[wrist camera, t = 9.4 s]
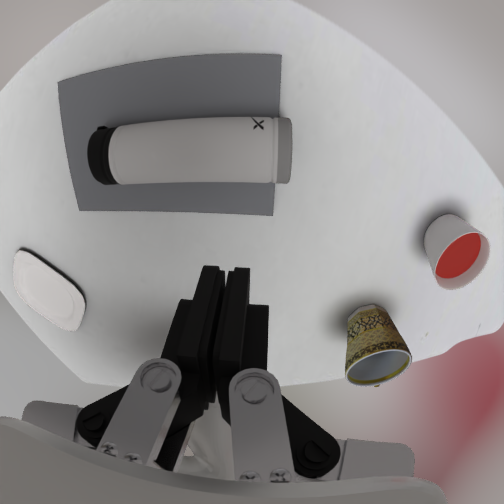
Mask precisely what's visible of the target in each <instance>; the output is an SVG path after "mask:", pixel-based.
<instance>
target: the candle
mask: <svg viewBox="0 0 504 504" xmlns="http://www.w3.org/2000/svg"><path fill="white" fill-rule="evenodd" d="M424 247H425V251H426V254H427V257H428V260H429V263H430V266H431V269H432V272H433V275H434V278H435V281H436V283H437V285H438V286H439V287H441V288H442V289H445V290H456V289H460V288H462V287H464V286H466V285H468V284H469V283H471V282H472V281H473V280H475V279H476V278H477V277H478V276H479V274H480V273H481V272H482V271H483V269H484V268H485V266H486V264H487V262H488V259H489V255H490V243H489V240H488V238H487V237H486V236H485V235H484V234H483V233H481V232H480V231H479V230H477V229H476V228H474V227H473V226H471V225H470V224H469V223H467V222H466V221H464V220H463V219H461V218H459V217H458V216H456V215H452V214H446V215H443V216H440V217H439V218H437V219H436V220H434V221H433V222H432V223H431V225H430V226H429V227H428V229H427V231H426V233H425V236H424Z"/></svg>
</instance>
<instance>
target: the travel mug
mask: <svg viewBox="0 0 504 504" xmlns="http://www.w3.org/2000/svg"><path fill="white" fill-rule="evenodd" d="M87 159H88V165H89V168H90V171H91V173H92V175H93V177H94V178H95V180H97V181H98V182H101V183H102V184H103V185H116V184H121V185H125V184H145V183H175V182H252V183H269V182H273V183H283V184H287V183H288V182H289V180H290V175H291V164H292V123H291V120H290V119H289V118H276V117H275V118H274V119H271V118H270V117H212V118H191V119H177V120H165V121H155V122H146V123H137V124H130V125H123V126H119V127H113V128H108V127H106V126H99V127H97V131H95V132H94V133H93V134H92V135H91V137H90V139H89V142H88V147H87Z"/></svg>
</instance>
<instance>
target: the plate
mask: <svg viewBox="0 0 504 504" xmlns="http://www.w3.org/2000/svg"><path fill="white" fill-rule="evenodd" d="M13 279H14V286H15V289H16V291H17V293H18V295H19V296H20V297H21V298H22V300H23V301H24V302H25V303H26V304H27V305H29V306H30V307H31V308H32V309H33V310H35V311H36V312H37V313H39V314H40V315H42V316H43V317H44V318H46V319H47V320H49V321H50V322H52V323H53V324H55V325H57V326H58V327H60V328H62V329H64V330H67V331H75V330H77V329H78V327H79V326H80V324H81V321H82V319H83V315H84V312H85V305H86V303H85V300H84V297H83V294H82V293H81V292H80V291H79V290H78V289H77V287H76V286H75V285H74V284H73V283H72V282H70V281H69V280H68V279H67V278H65V277H64V276H63V275H61V274H60V273H59V272H57V271H56V270H55V269H53V268H52V267H50V266H49V265H48V264H46V263H45V262H43V261H42V260H41V259H39V258H38V257H36V256H35V255H33V254H31V253H30V252H27V251H23V250H19V251H18V252H17V253H16V254H15V258H14V266H13Z"/></svg>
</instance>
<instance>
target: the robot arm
mask: <svg viewBox="0 0 504 504" xmlns="http://www.w3.org/2000/svg"><path fill="white" fill-rule="evenodd" d="M249 291H250V268H239V267H235V269H234V271H229V272H228V277H227V282H226V287H225V271H223V270H220V268H219V266H206V265H204V266H203V269H202V272H201V275H200V278H199V281H198V284H197V288H196V291H195V294H194V297H193V300H186V299H181V300H180V302H179V304H178V307H177V310H176V313H175V316H174V318H173V321H172V324H171V327H170V330H169V333H168V336H167V339H166V342H165V346H164V349H163V352H162V355H161V358H157V359H151V360H149V361H146V362H145V363H144V364H142V365H141V366H140V367H139V369H138V370H137V372H136V373H135V375H134V377H133V379H132V381H131V383H130V384H129V385H127V386H125V387H123V388H122V389H119V390H118V391H116V392H114V393H112V394H110V395H108V396H106V397H104V398H102V399H100V400H98V401H96V402H94V403H92V404H90V405H88V406H86V407H85V408H79V406H78V405H69V404H60V403H52V402H45V401H32V402H30V403H28V404H27V406H26V407H25V409H24V411H23V415H22V420H19V419H16V418H11V417H0V504H448V502H447V499H446V497H445V494H444V492H443V491H442V489H441V488H440V487H439V486H438V485H437V484H435V483H433V482H430V481H427V480H424V479H419V478H414V477H413V474H414V463H415V459H414V453H413V452H412V450H411V448H409V447H408V446H407V445H404V444H401V443H387V442H374V441H364V440H355V439H347V440H340V439H335V438H334V437H332V436H331V435H330V434H329V433H328V432H326V431H325V430H324V429H322V428H321V427H320V426H319V425H317V424H316V423H315V422H314V421H312V420H311V419H310V418H309V417H308V416H306V415H305V414H304V413H303V412H301V411H300V410H299V409H298V408H297V407H296V406H294V405H293V404H292V403H291V402H290V401H288V400H287V399H286V398H285V397H284V396H283V395H281V390H280V386H279V383H278V380H277V379H276V378H275V377H274V375H272V374H271V373H269V372H268V371H267V353H268V319H269V305H253V304H249ZM187 445H188V446H189V448H190V449H191V451H192V452H193V454H194V456H183V455H184V453H185V450H186V447H187Z"/></svg>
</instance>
